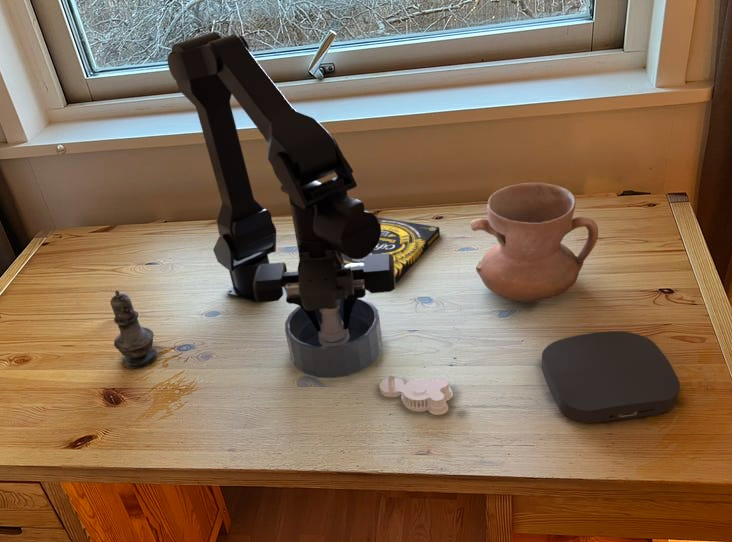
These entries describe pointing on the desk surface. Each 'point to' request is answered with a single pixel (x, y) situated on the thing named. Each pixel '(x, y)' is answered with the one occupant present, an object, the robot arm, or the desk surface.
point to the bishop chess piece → (132, 334)
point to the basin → (337, 358)
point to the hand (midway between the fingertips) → (332, 328)
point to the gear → (419, 393)
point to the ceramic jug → (532, 242)
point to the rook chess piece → (332, 328)
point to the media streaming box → (609, 376)
